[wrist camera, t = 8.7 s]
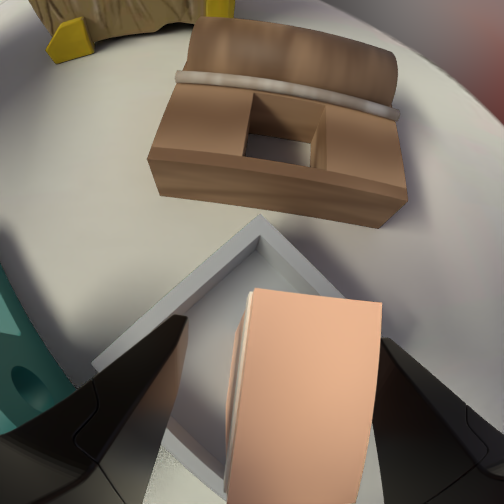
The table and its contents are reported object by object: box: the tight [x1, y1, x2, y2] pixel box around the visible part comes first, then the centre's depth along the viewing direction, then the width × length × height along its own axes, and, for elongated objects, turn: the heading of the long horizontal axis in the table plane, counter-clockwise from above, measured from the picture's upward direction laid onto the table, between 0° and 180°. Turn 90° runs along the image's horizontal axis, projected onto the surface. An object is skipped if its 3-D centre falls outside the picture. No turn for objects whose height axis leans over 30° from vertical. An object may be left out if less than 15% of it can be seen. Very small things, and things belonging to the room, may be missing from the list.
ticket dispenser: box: [147, 16, 408, 229], centre depth 18 cm, size 12×14×7 cm
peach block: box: [224, 288, 382, 504], centre depth 10 cm, size 4×2×11 cm, turn 173°
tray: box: [91, 214, 383, 502], centre depth 14 cm, size 11×11×3 cm
